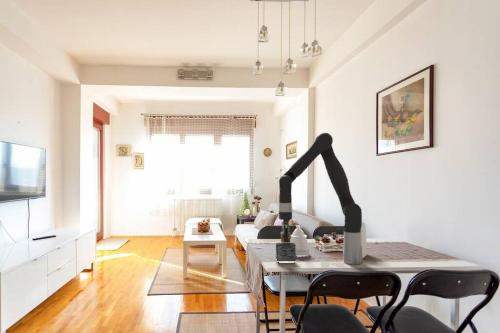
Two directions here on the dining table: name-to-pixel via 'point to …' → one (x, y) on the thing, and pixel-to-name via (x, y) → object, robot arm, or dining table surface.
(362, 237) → the milk
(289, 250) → the small box
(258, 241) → the dining table surface
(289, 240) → the walnut cube
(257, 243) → the dining table surface
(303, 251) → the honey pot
